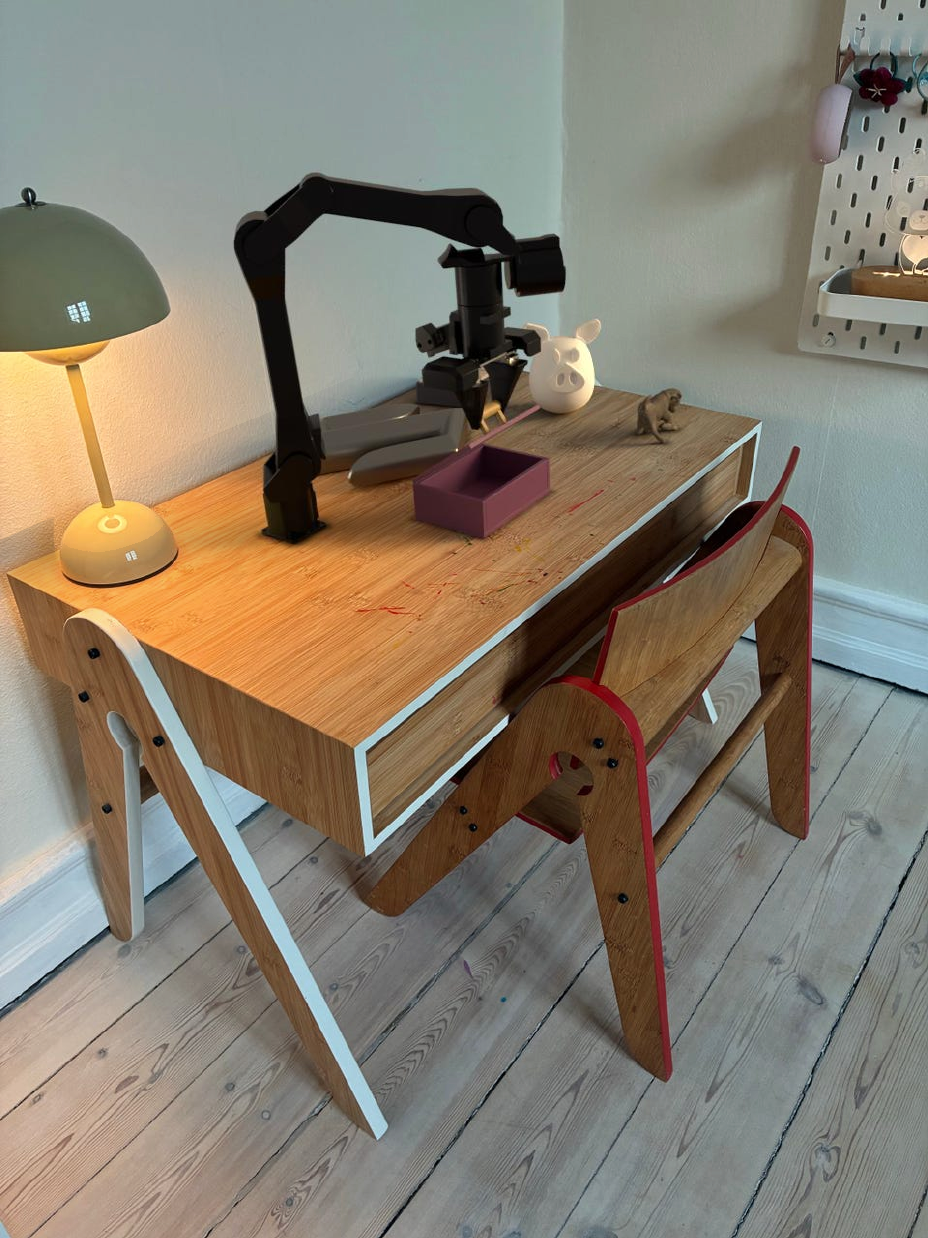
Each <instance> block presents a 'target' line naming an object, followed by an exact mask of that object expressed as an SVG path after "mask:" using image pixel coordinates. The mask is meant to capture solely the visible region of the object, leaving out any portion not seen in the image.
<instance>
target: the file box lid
mask: <svg viewBox="0 0 928 1238" xmlns="http://www.w3.org/2000/svg"><path fill="white" fill-rule="evenodd" d="M539 409H541V407H540V406H539V404H536V405H534V406H533V407H531V408H529V409H527V410H525V411H523V412H522V413H519V414H518V415H517V416H515V417H513V418H512V419H509V420H507V418H506V417H505V414H502V412H501V403H500V402H499V401H498V400H493V401H492V400H491V401H489V402H487V403H485V407H484V412H483V418H482V422H481V426H480V429H479V430H480V431H481V433H482V435H483V436H480V437H479V438H477V439H476V440H474V441H472V442H471V443H468V444H467V445H466V446H465V445H464V448H462V449H460V450H459V451H457V452H456V453H454V454H452V455H451V456H449V457H447V458H446V459H444V460H443V461H441V462H439V463H438V464H436V465H434V466H433V467H431V468H430V469H428V470H426V471H425V472H423V473H421V474H418V475H416V476H414V477H413V478H412V479H411V482H412V485H413V484H414V483H416V482H417V481H419V480H421V479H423V478H424V477H426V476H428V475H429V474H431V473H433V472H434V471H436V470H438V469H439V468H441V467H443V466H444V465H446V464H448V463H450V462H451V461H453V460H455V459H456V458H458V457H460V456H461V455H463V454H465V453H467V452H468V451H470V450H472V449H473V448H475V447H477V446H479V445H480V444H482V443H483V444H484V443H486V442H487V441H488V440H490V439H492V438H493V437H495V436H496V435H498V434H500V433H501V432H503V431H505V430H507V429H508V428H510V427H511V426H513V425H515V424H517V423H518V422H521V420H523V419H525V418H526V417H528V416H530V415H531V414H533V413H535V412H536V411H538V410H539ZM494 414H495V415H496V416H495V415H494ZM493 415H494V416H495V417H496V419H497V420H498V422H499V424H500V426H498V427H496V428H494V429H493V430H490V429H489V427H488V425H487V423H486V421H485V420H486V419H488V418H489V417H491V416H493Z"/></svg>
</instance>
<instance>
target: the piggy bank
mask: <svg viewBox="0 0 928 1238" xmlns="http://www.w3.org/2000/svg"><path fill="white" fill-rule="evenodd" d="M601 328H602V323H601V321H600V320H599V318H593V319H590V320H587V321H585V322H582V323H580V324H578V325H577V326H576V327H574V330H573V336H572V335H571V336H570V335H556V336H550V333H549V331H548V330H547V328H546V327H544V326H541V325H539V324H534V323H531V322H525V323H524V324H523V325H522V329H530V330H535V331H536V332H537V334H538V335H539V336H540V337H541V352H539V353H537V354H535V355H534V356H532V359H531V362H530V366H529V372H528V389H529V393H530V396H531V398H532V400H533V401H534V402H535V404H536V405H537V404H539V406H540V409H543V410H544V411H547V412H549V413H553V414H568V413H573V412H575V411H577V410H579V409H581V408H583V407H584V406H585V405H586V404H587V403H588V402H589V401H590V399H591V397H592V395H593V392H594V388H595V369H594V368H595V367H594V364H593V359H592V356H591V353H590V350H589V349H588V346H587V345H588V344H590V343H591V342H593V341H594V340H595V339H596V338H597V337H598V336H599V334H600V332H601Z"/></svg>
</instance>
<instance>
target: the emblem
mask: <svg viewBox="0 0 928 1238" xmlns="http://www.w3.org/2000/svg"><path fill="white" fill-rule="evenodd" d="M320 425H321V436H322V438H323V440H324V446H325V453H326V460H323V459H321V472H320V474H319V475H318V476H320V475H325V474H330V473H336V472H342V471H346V470H349V471H348V472H347V482H348V483H349V484H350V485H351V486H352V487H355V488H362V487H367V486H371V485H377V484H381V483H384V482H385V483H386V482H389V481H393V480H399V479H403V478H407V477H413V476H418V475H420V474H421V473H423V472H425V471H426V470H428V469H430V468H431V467H433V466H434V465H436V464H438V463H439V462H441V461H443V460H444V459H446V458H447V457H449V456H451V455H452V454H454V453H456V452H457V451H459V450H460V449H462V448H464V447H465V443H466V441H467V440H466V439H467V436H468V430H469V428H468V427H469V426H468V425H469V422H468V420H467V418H466V415H465V413H464V411H463V408H461V407H453V408H447V409H442V410H436V411H430V412H425V413H421V407H420V405H418V404H416V403H397V404H391V405H384V406H378V407H373V408H367V409H361V410H355V411H351V412H345V413H339V414H334V415H328V416H324V417H322V418H321V417H320ZM461 456H462V455H461ZM444 466H445V465H444Z"/></svg>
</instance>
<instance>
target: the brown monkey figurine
mask: <svg viewBox="0 0 928 1238" xmlns="http://www.w3.org/2000/svg"><path fill="white" fill-rule="evenodd" d="M682 397H683V393H682V391H681V390H679V389H678V388H674V387H673V388H667V389H663V390H661V391H660V392H659V393H658V392H657V394H656V393H655V395H652V394H649V395H647V396H646V397H645V398H644V399H643V401H641V402H640V403H639V404H638V406H637V425H636V426H637V427H636V429H635V435H637V436H638V435H642V434H643V433H644V432H645V433H651V435H652V436H653V437H654V438H655V439H656V440H657V441H659V442H660V443H661V444H666V442H667V441H666V438H664V437H663V436H662V435H661V434H660V433H659V431H658V429H657V427H658V428H659V429H660V430H661V431H676V430H678V429H679V428H678V426H677V420H676V419H675V418H674V416H673V415H672V414H675V413H676V412H677V409H678V406H679V404H680V403H681V401H682ZM660 421H663V422H662V423H660V424H659V425H658V426H657V423H658V422H660Z"/></svg>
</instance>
